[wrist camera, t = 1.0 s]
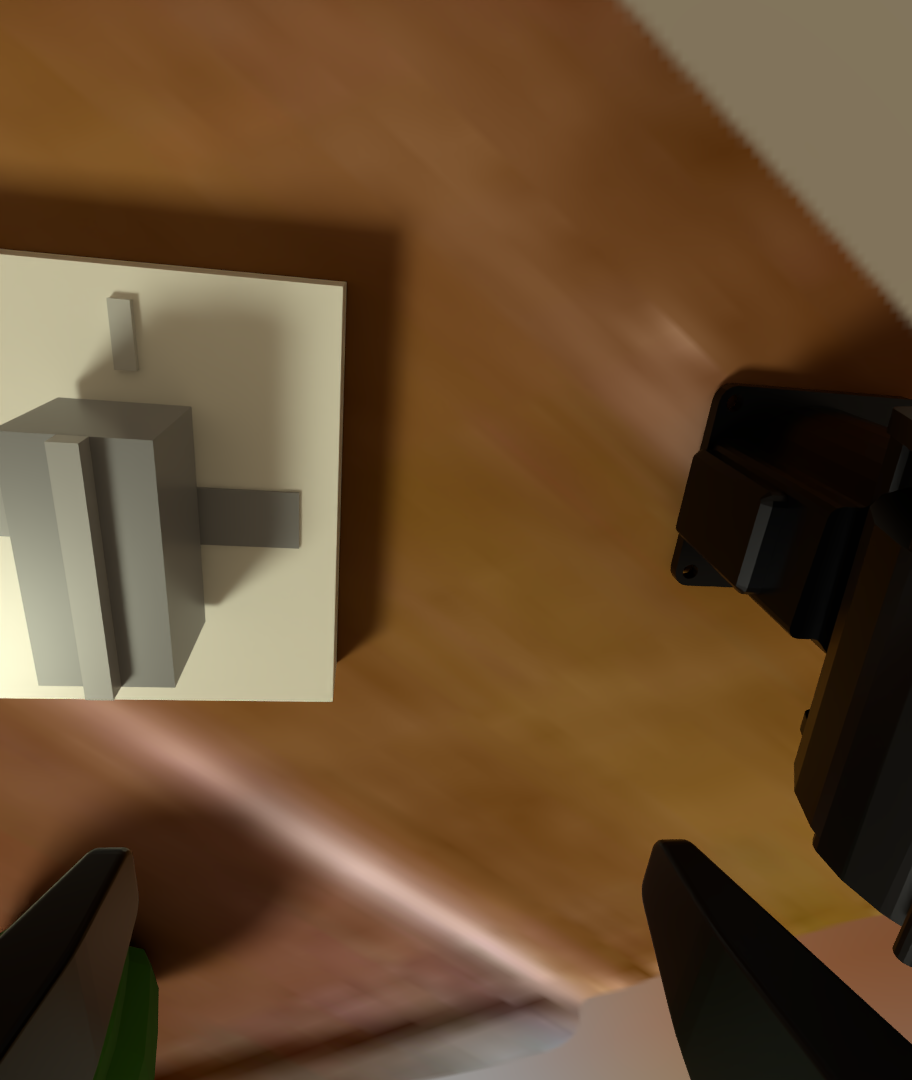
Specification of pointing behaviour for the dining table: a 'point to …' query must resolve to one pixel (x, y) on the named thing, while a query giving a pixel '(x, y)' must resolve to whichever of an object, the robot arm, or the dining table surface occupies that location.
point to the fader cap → (105, 541)
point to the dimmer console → (202, 448)
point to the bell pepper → (131, 1023)
